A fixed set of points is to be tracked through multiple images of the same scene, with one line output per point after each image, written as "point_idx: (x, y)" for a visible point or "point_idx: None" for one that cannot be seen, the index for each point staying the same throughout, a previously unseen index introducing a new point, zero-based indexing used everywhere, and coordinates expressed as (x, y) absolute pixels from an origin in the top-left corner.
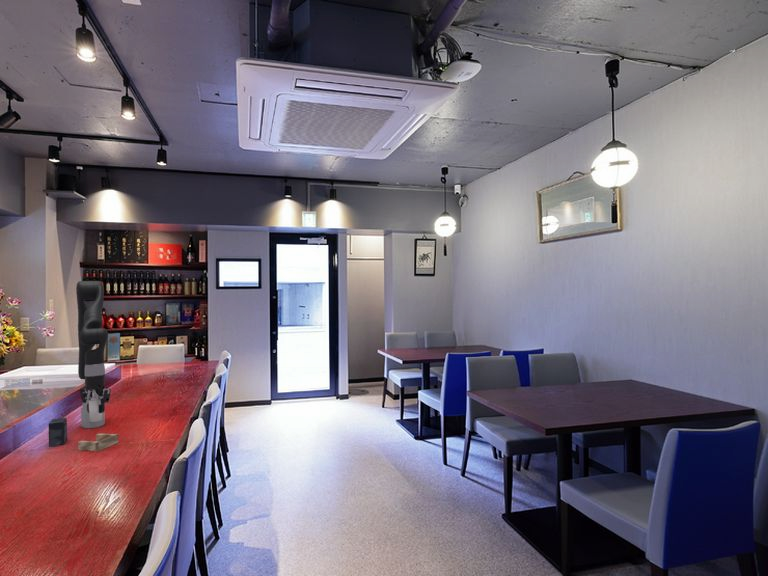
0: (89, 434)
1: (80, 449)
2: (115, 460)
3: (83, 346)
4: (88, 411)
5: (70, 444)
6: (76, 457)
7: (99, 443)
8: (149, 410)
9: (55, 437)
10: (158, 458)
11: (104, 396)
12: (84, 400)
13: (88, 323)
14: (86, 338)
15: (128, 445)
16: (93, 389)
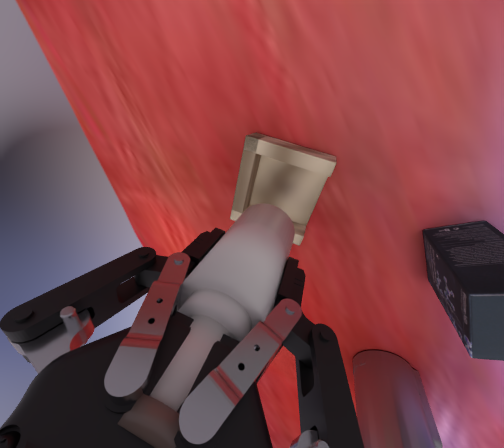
0: (364, 303)
1: (327, 154)
2: (148, 20)
3: None
4: (292, 261)
5: (395, 229)
6: (305, 67)
7: (246, 140)
8: (285, 399)
9: (474, 242)
10: (51, 37)
11: (91, 279)
12: (313, 340)
13: None
14: None
15: (196, 173)
16: (136, 421)
